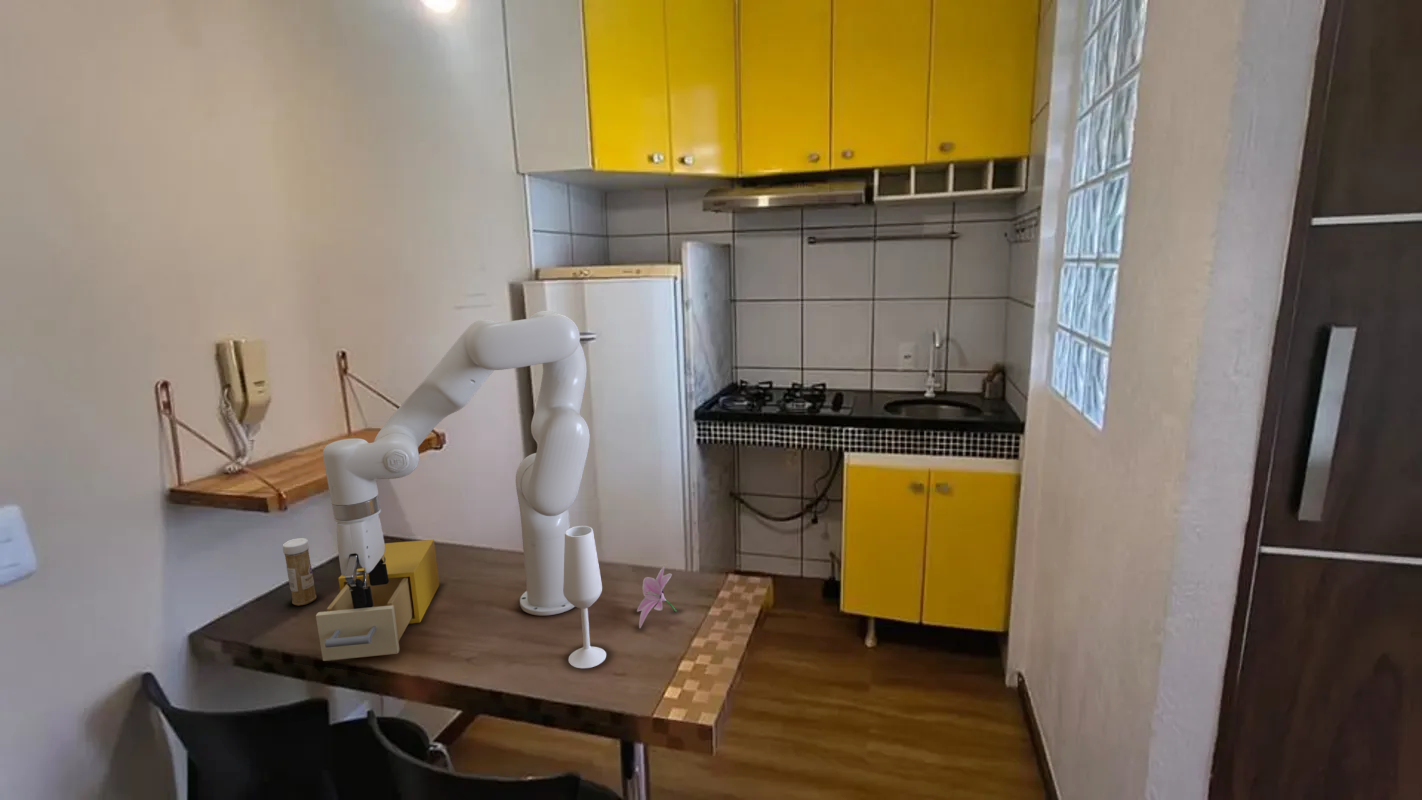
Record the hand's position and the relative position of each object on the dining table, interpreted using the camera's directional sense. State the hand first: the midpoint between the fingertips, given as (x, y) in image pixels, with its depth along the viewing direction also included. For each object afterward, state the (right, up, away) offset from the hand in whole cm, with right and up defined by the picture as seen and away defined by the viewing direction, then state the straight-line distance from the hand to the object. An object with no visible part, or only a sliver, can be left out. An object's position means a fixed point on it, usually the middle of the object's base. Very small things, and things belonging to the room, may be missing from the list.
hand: (372, 595), depth 125 cm
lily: (+52, -7, +9) cm, 53 cm away
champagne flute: (+41, -10, -5) cm, 42 cm away
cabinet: (-3, -7, +15) cm, 17 cm away
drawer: (0, -9, 0) cm, 9 cm away
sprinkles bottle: (-23, -7, +18) cm, 30 cm away
